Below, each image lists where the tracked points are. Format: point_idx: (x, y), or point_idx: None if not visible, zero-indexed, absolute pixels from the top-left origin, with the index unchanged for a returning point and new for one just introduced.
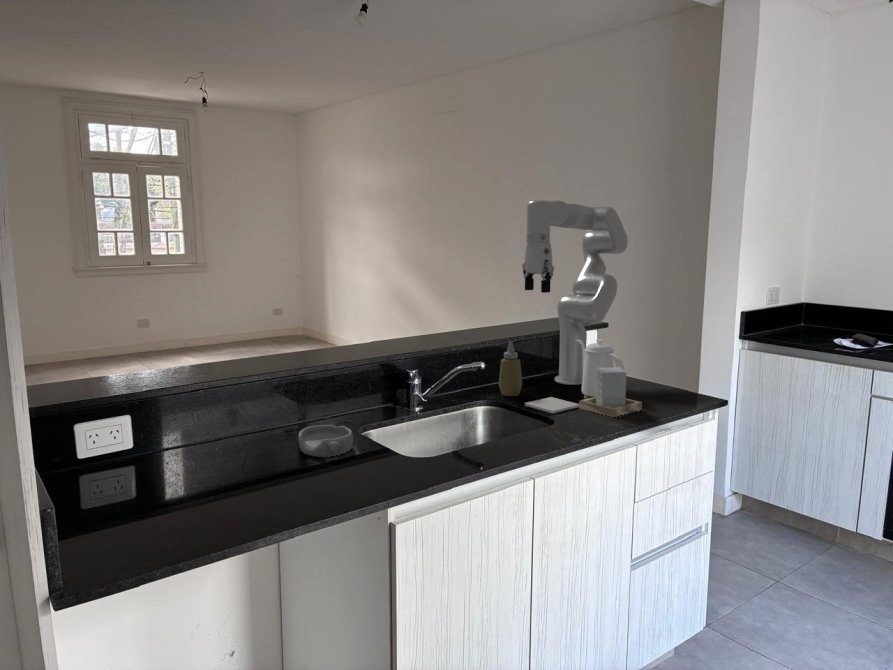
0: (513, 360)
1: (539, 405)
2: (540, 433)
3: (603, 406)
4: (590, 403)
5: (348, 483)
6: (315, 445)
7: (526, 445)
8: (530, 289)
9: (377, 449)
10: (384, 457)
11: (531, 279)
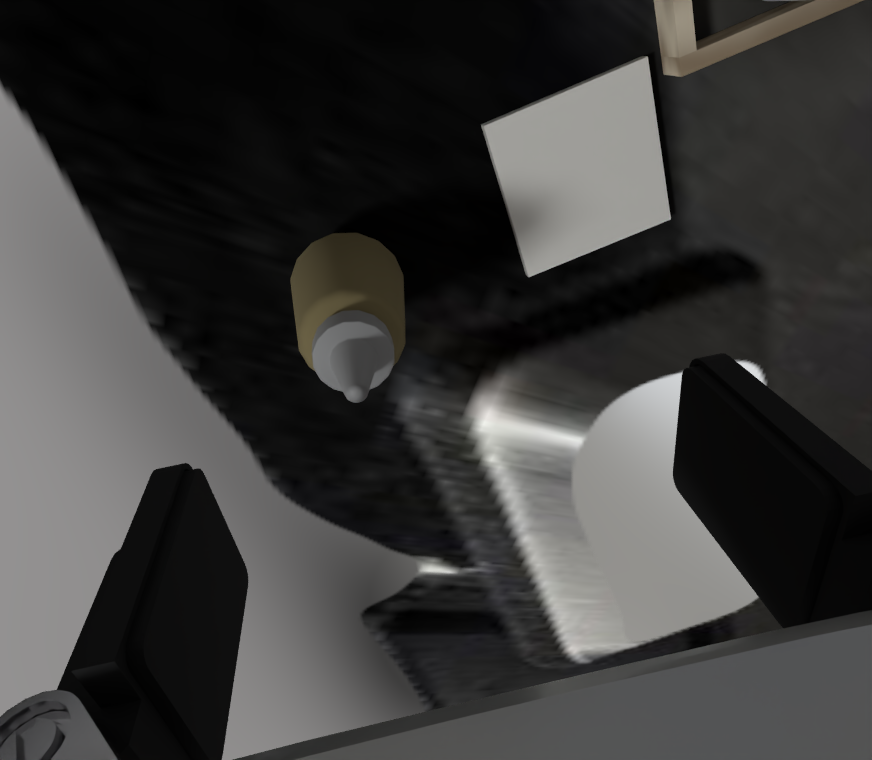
0: (394, 340)
1: (583, 237)
2: (804, 338)
3: (811, 14)
4: (743, 48)
5: None
6: None
7: (850, 401)
8: (220, 517)
9: (686, 641)
10: (732, 632)
11: (173, 677)
